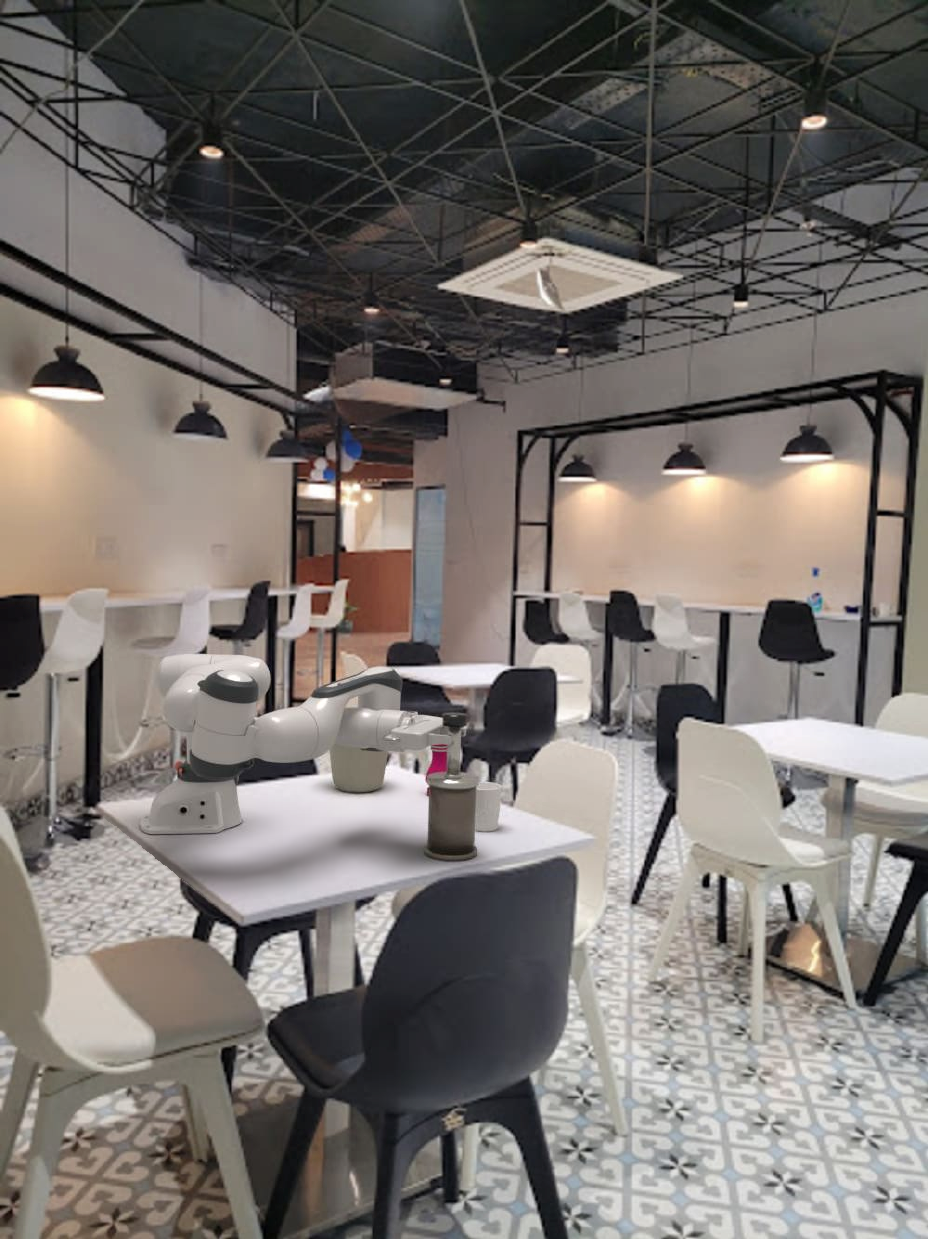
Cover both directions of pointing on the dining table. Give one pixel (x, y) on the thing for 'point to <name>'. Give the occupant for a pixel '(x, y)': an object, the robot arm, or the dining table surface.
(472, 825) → the grey thread spool
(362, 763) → the canister
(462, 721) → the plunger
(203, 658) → the robot arm
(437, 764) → the pepper mill
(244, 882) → the dining table surface
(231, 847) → the dining table surface
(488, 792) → the white cup
